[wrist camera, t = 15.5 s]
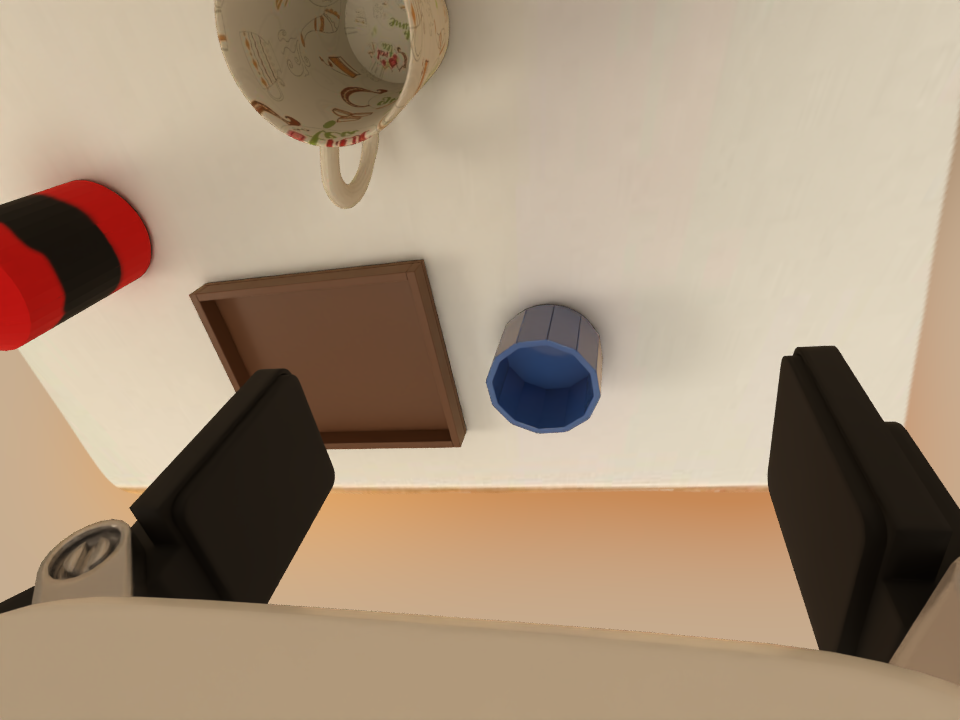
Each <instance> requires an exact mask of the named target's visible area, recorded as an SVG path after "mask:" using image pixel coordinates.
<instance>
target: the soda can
mask: <svg viewBox="0 0 960 720" xmlns="http://www.w3.org/2000/svg"><path fill="white" fill-rule="evenodd" d="M150 259H151V244H150V239H149V235H148V233H147V230H146V227H145V225H144V224H143V222H142V220H141V218H140V217H139V215H138V214H137V213H136V211H135V210H134V209H133V208H132V207H131V206H130V205H129V204H128V203H127V201H125V200H124V199H123V198H122V197H120V196H119V195H118V194H116V193H115V192H113V191H111V190H110V189H108V188H106V187H104V186H102V185H100V184H97V183H95V182H90V181H86V180H75V181H71V182H68V183H64V184H61V185H59V186H56V187H53V188H50V189H47V190H44V191H41V192H38V193H35V194H32V195H29V196H26V197H23V198H20V199H17V200H14V201H11V202H8V203H5V204H2V205H0V350H2V351H7V350H14V349H17V348H19V347H21V346H23V345H24V344H26V343H28V342H29V341H31V340H33V339H35V338H36V337H38V336H40V335H41V334H43V333H45V332H47V331H48V330H50V329H52V328H54V327H55V326H57V325H59V324H60V323H62V322H64V321H66V320H67V319H69V318H71V317H72V316H74V315H76V314H78V313H79V312H81V311H83V310H85V309H86V308H88V307H90V306H91V305H93V304H95V303H97V302H98V301H100V300H102V299H103V298H105V297H107V296H109V295H110V294H112V293H114V292H116V291H117V290H119V289H121V288H122V287H124V286H126V285H128V284H129V283H131V282H133V281H134V280H136V279H138V278H140V277H141V276H142V275H143V274H144V273H145V272H146V270H147V268H148V267H149V264H150Z"/></svg>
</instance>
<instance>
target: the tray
mask: <svg viewBox="0 0 960 720" xmlns="http://www.w3.org/2000/svg"><path fill="white" fill-rule="evenodd" d="M189 296H190V298H191V300H192V302H193V304H194V306H195V308H196V310H197V313H198V315H199V317H200V319H201V321H202V323H203V325H204V327H205V329H206V331H207V333H208V335H209V338H210V340H211V342H212V344H213V346H214V348H215V350H216V352H217V354H218V356H219V358H220V360H221V363H222V365H223V367H224V369H225V371H226V373H227V375H228V377H229V379H230V381H231V383H232V385H233V387H234V390H235V392H237V391H238V390H239V389H240V388H241V387H242V386H243V385H244V384H245V383H246V381H247V380H248V379H249V378H250V377H251V376H252V375H253V374H254V373H255V372H256V371H257V370H260V369H278V368H285V369H288V370H289V371H290V372H291V374H292V375H295V376H296V377H297V378H298V379H299V381H300V384H301V386H302V389H303V391H304V394H305V396H306V399H307V402H308V404H309V407H310V409H311V412H312V414H313V417H314V419H315V422H316V425H317V427H318V430H319V432H320V435H321V437H322V440H323V443H324V445H325V448H326V449H376V448H446V447H461V445H462V442H463V439H464V436H465V434H466V427H465V423H464V419H463V415H462V411H461V407H460V403H459V399H458V395H457V391H456V387H455V383H454V379H453V375H452V371H451V367H450V363H449V359H448V355H447V351H446V347H445V343H444V339H443V335H442V331H441V327H440V323H439V319H438V315H437V311H436V307H435V303H434V299H433V296H432V292H431V288H430V284H429V280H428V276H427V272H426V268H425V264H424V260H415V261H406V262H397V263H388V264H379V265H369V266H360V267H351V268H342V269H333V270H324V271H315V272H306V273H297V274H288V275H279V276H269V277H260V278H251V279H242V280H233V281H224V282H215V283H206V284H204V285H203V286H201V287H200V288H199V289H197V290H196V291H194V292H193V293H191V294H190V295H189Z"/></svg>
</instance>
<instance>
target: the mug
mask: <svg viewBox="0 0 960 720" xmlns="http://www.w3.org/2000/svg"><path fill="white" fill-rule="evenodd" d="M215 20H216V28H217V33H218V38H219V42H220V46H221V50H222V52H223V55H224V58H225V61H226V63H227V66H228V68H229V70H230V72H231V74H232V76H233V78H234V80H235V82H236V84H237V85H238V87H239V88H240V90H241V92H242V93H243V95H244V96H245V97H246V99H247V100H248V101H249V103H250V104H251V105H252V106H253V107H254V108H255V110H256V111H257V112H258V113H259V114H260V115H261V116H262V117H263V118H264V119H266V120H267V121H268V122H269V123H270V124H272V125H273V126H274V127H276V128H277V129H278V130H280V131H282V132H283V133H285V134H287V135H288V136H290V137H292V138H294V139H297V140H299V141H302V142H304V143H308V144H312V145H316V146H320V161H321V174H322V182H323V186H324V189H325V191H326V193H327V195H328V197H329V198H330V200H331V201H332V202H333V203H334V204H335V205H336V206H338V207H340V208H342V209H348V208H352V207H353V206H355V205H356V204H357V203H358V202H359V201H360V200H361V199H362V197H363V196H364V194H365V192H366V190H367V187H368V185H369V182H370V179H371V175H372V171H373V167H374V163H375V159H376V154H377V150H378V143H379V132H380V131H381V130H382V129H384V128H385V127H386V126H387V125H388V124H389V123H391V122H392V121H393V120H394V119H395V117H396V116H397V115H398V114H399V113H400V112H401V111H402V109H403V108H404V107H405V106H406V105H407V104H408V103H409V101H410V100H411V99H412V98H413V97H414V96H415V95H416V93H417V92H418V91H419V90H420V89H421V88H422V87H423V85H424V84H425V83H426V82H427V81H428V80H429V78H430V77H431V76H432V75H433V74H434V73H435V71H436V70H437V68H438V67H439V66H440V64H441V62H442V60H443V58H444V55H445V52H446V49H447V46H448V40H449V17H448V12H447V7H446V4H445V1H444V0H215ZM362 141H363V145H362V154H361V160H360V164H359V168H358V171H357V173H356V175H355V177H354V179H353V180H352V182H351V183H350V184H348V185H347V184H346V183H345V182H344V181H343V179H342V177H341V173H340V166H339V147H342V146H349V145H353V144H356V143H359V142H362Z"/></svg>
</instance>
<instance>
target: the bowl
mask: <svg viewBox="0 0 960 720" xmlns="http://www.w3.org/2000/svg"><path fill="white" fill-rule="evenodd" d="M602 362H603V356H602V350H601V343H600V337H599V335H598V333H597V332H596V331H595V329H594V327H593V326H592V325H591V323H590V322H589V321H588V320H587V319H586V318H585V317H583V316H582V315H581V314H579V313H578V312H576V311H574V310H572V309H570V308H567V307H564V306H559V305H549V304H548V305H539V306H534V307H531V308H528V309H526V310H524V311H522V312H521V313H519V314H518V315H517V316H516V317H514V318H513V319H512V320H511V321H509V322H508V323H507V324H506V326H505V329H504V332H503V334H502V337H501V340H500V343H499V345H498V348H497V351H496V354H495V357H494V359H493V362H492V365H491V368H490V371H489V373H488V376H487V379H486V384H487V388H488V391H489V395H490V398H491V402H492V405H493V406H494V407H495V408H496V409H497V410H498V411H499V412H500V413H501V414H502V415H503V416H504V417H505V418H506V419H507V420H508V421H509V422H510V423H512V424H513V425H516V426H518V427H521V428H524V429H527V430H529V431H532V432H535V433H539V434H541V433H558V432H566V431H569V430H571V429H572V428H574V427H576V426H578V425H579V424H581V423H583V422H585V421H586V420H588V419H589V418H590V416H591V415H592V413H593V411H594V409H595V407H596V405H597V403H598V401H599V399H600V396H601V380H602Z"/></svg>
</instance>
